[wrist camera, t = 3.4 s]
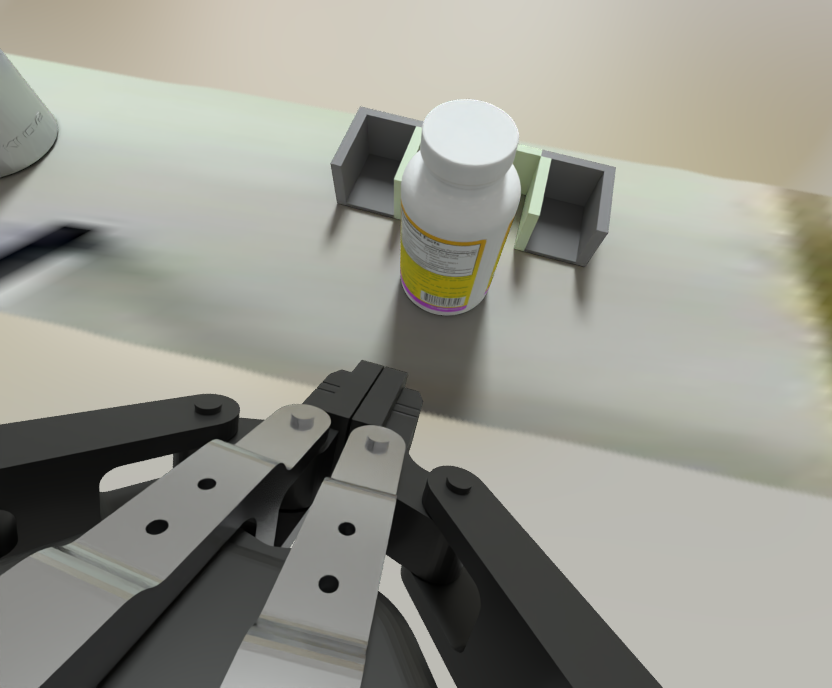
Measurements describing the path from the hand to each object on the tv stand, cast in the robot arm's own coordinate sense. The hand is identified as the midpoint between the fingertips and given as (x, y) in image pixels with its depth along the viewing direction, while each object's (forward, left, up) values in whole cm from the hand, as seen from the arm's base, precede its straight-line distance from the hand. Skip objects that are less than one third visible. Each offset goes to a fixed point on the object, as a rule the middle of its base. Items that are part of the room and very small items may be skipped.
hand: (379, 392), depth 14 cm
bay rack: (0, +22, -14) cm, 26 cm away
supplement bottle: (0, +14, -14) cm, 20 cm away
